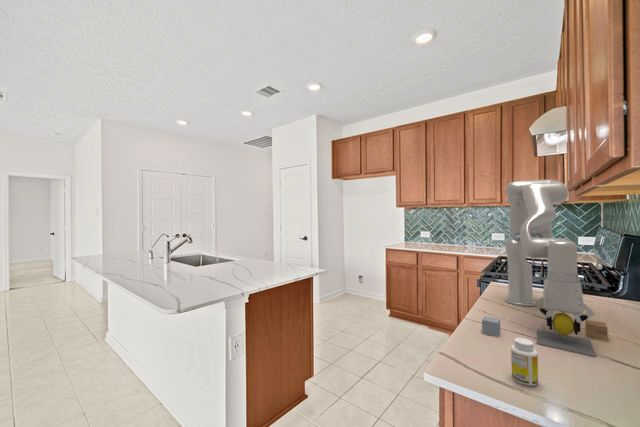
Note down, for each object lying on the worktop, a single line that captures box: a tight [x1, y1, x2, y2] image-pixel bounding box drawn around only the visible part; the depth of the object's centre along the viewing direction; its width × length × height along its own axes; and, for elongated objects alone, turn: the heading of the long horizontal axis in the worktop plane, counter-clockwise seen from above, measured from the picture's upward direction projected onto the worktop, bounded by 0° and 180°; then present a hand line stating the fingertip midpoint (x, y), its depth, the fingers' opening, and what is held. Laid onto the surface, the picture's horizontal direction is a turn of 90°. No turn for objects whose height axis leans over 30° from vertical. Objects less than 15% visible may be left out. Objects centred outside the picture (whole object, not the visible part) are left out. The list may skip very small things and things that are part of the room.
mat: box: [536, 329, 597, 358], centre depth 92 cm, size 14×14×1 cm
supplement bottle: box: [510, 337, 539, 387], centre depth 72 cm, size 6×6×10 cm
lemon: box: [552, 312, 574, 336], centre depth 92 cm, size 6×6×8 cm
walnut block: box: [584, 318, 609, 342], centre depth 96 cm, size 5×5×5 cm
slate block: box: [481, 315, 501, 338], centre depth 100 cm, size 5×5×5 cm
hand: (563, 330), depth 92 cm, fingers open, 5 cm apart
